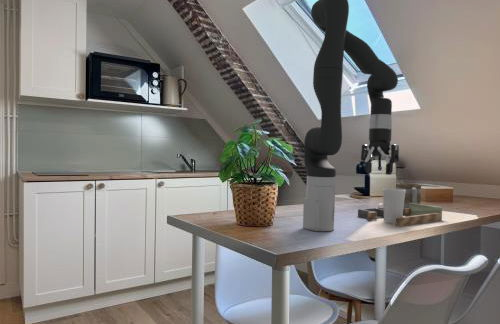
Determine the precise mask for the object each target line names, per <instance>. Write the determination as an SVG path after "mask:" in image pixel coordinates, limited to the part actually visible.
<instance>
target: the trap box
mask: <svg viewBox="0 0 500 324" xmlns="http://www.w3.org/2000/svg"><path fill="white" fill-rule="evenodd" d="M377 215H378V216H383V217H384V207H383V206H379V207H369V208H368V207H367V208H360V209H357V217H360V218H365V219H366V220H367V221H376V220H378V219H377ZM442 219H443V207H442V206H437V205H428V204H423V203H422V204H421V203H420V204H416V203H409V208H403V217H399V218H396V223H395V227H405V226H412V225H417V224H425V223H432V222H438V221H439V220H440V221H442ZM440 221H439V222H440Z"/></svg>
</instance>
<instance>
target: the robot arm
mask: <svg viewBox="0 0 500 324" xmlns="http://www.w3.org/2000/svg"><path fill="white" fill-rule="evenodd" d="M349 13H350V5H349V0H317V1H315V2H314V4H313V5H312V6H311V11H310V14H311V18H312V21H313V22H314V24H315V25H316V26H317V27H318V28H319V29H320V30H321V31H322V32H323V33H324V38H323V41H322V43H321V46H320V49H319V50H318V53H317V56H316V58H315V62H314V64H313V77H312V85H313V86H312V87H313V90H314V93H315V96H316V99H317V101H318V103H319V107H320V110H321V113H320V114H321V120H320V121H321V122H320V126H317V127H312V128H310V129H309V130H308V131H307V132H306V134H305V137H304V141H303V142H304V143H303V145H304V146H303V148H304V149H303V150H304V151H303V153H304V154H303V155H304V158H303V159H304V167H305V169H306V192H305V194H306V195H305V198H303V209H302V210H303V215H302V216H303V217H302V218H303V219H302V228H303V229H305V230H309V231H313V232H331V231H334V230H335V208H336V207H335V201H336V200H335V199H336V176H337V175H336V174H337V173H336V172H337V171H336V167H334V166H333V165H332V164H330V162H329V160H328V156H334V155H336V154H338V152H340V149H341V147H342V144H343V143H342V141H343V125H342V89H343V87H342V86H343V77H344V76H343V73H344V52H345V54H346V55H347V56H348V57H349V58H350V59H351V60H352V62H353V63H354V64H355V66H356V67H357V68H358V69H359V71H360V72H361V73H362V74H363V75H369V77H368V80H367V82H366V88H367V89H366V90H367V93H368V97H369V101H370V118H369V122H368V123H369V124H368V125H369V128H368V141H369V144H364V143H363V144H361V152H360V154H361V155H360V161H363V162H365V173H367V174H371V173H372V170H373V163H372V162H373V160H374V159H376V157H382V159H384V161H385V162H386V164H385V175H389V176H390V175H392V174H393V172H394V171H393V169H394V164H395V163H398V162H399V160H400V159H399V158H400V157H399V153H400V147H399V144H395V143H394V144H391V141H392V129H393V128H392V126H393V118H392V113H393V112H392V110H393V109H392V107H393V102H392V99H390V98H388V97H385V95H384V92H388V91H392V90H394V89H395V88H396V87H397V86H398V82H399V79H398V75H397V73H396V72H395V70H394V69H393V68H391V67H390V66H389V65H388V64H386V63H385V62H384V61H382V60H381V59H380V58H379V57H378V56H377V54H376V53H375V51H374V50H373V48H371V46H370V45H369V44H368V43H367V42H366V41H364V40H363V39H362V38H360V37H358V36H357V35H355V34H353V33H351V32H350V31H349V30H348V29H347V28H348V19H349V15H350V14H349Z"/></svg>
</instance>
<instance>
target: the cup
mask: <svg viewBox="0 0 500 324" xmlns="http://www.w3.org/2000/svg"><path fill="white" fill-rule="evenodd" d="M405 192H406V190H404V189H396V188H392V187H391V188H389V187H388V188H382V201H383V202H382V203H383V206H382V207H384V218H383V222H385V223H388V224H389V223H390V224H396V218H399V217H404V215H403V208H404V200H405Z"/></svg>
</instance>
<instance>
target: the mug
mask: <svg viewBox="0 0 500 324" xmlns="http://www.w3.org/2000/svg"><path fill="white" fill-rule="evenodd" d="M395 185H396V186H395V187H396V188H395V189H404V190H406V192H405V200H404V208H409V203H416V204H421V200H422V194H421V193H422V192H421V191H422V184H421V183H414V182H413V183H412V182H396V183H395Z"/></svg>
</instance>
